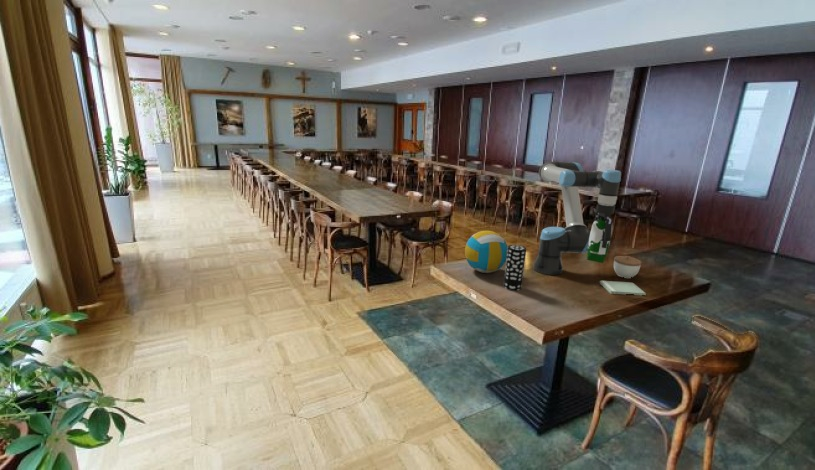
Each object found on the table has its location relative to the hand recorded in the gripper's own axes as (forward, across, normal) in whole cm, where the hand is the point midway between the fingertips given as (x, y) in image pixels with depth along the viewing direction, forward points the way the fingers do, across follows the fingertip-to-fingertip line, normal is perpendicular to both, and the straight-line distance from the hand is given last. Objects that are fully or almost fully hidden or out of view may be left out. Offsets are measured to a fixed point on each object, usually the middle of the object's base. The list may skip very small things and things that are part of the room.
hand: (597, 250), depth 189 cm
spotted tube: (+19, -5, +39) cm, 44 cm away
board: (+19, +1, -15) cm, 24 cm away
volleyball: (+19, +14, +50) cm, 55 cm away
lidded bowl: (+19, +20, -25) cm, 37 cm away
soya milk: (+5, 0, 0) cm, 5 cm away
